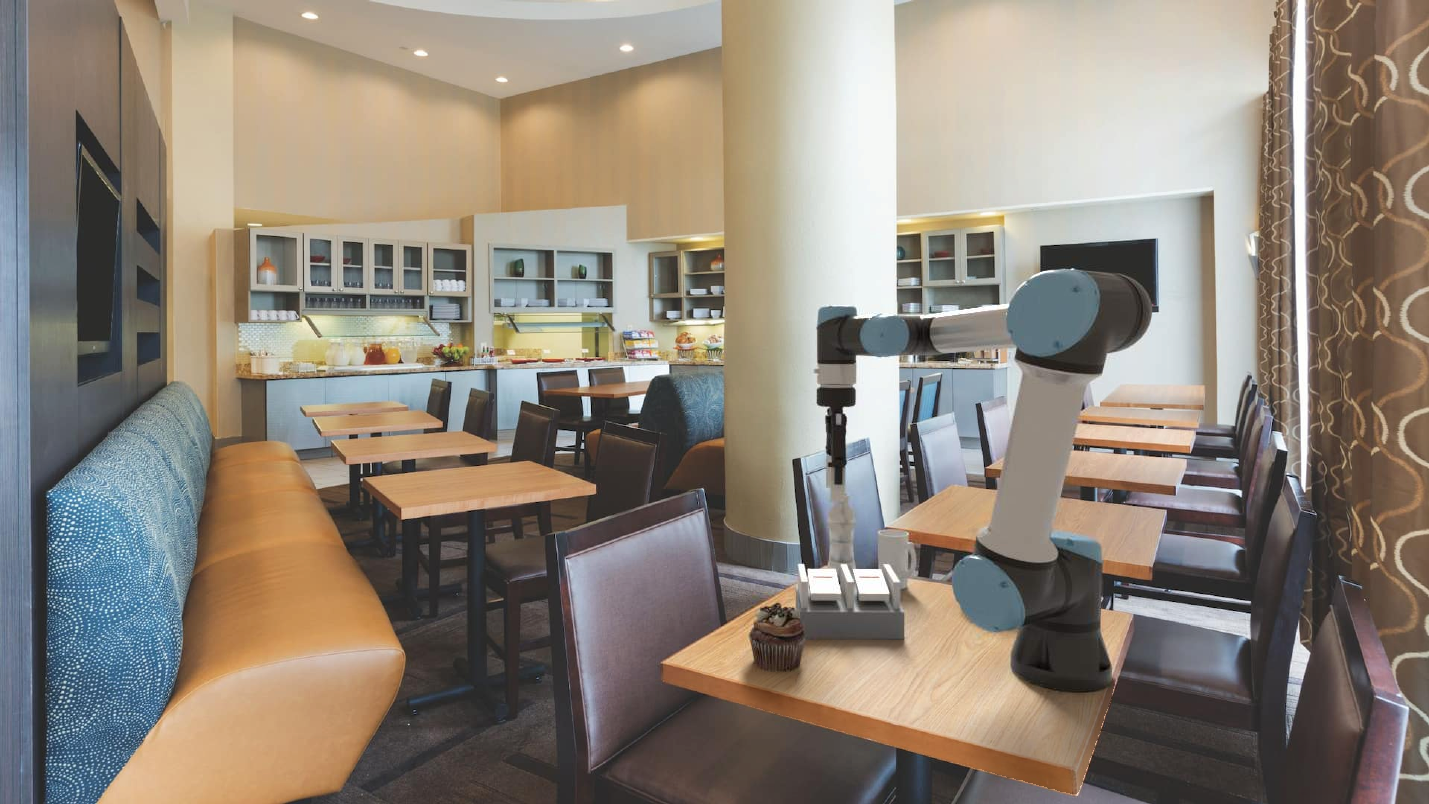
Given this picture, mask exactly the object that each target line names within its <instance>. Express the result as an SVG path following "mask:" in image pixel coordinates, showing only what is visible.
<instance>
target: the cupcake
mask: <svg viewBox="0 0 1429 804" xmlns="http://www.w3.org/2000/svg"><path fill="white" fill-rule="evenodd" d="M755 616H756V619H754V621H753V627H752V628H751V630H750V631H749V632H748V638H749V642H750V647H751V651H752V656H753V663H754V665H755V664H756V667H757V668H759V669H763V670H766V671H769V672H776V671H778V672H779V673H780V672H781V671H782V672H788V671H787V670H789V671H793V670H795V669H797V668H798V667H799V666H800V665H801V660H802V655H803V649H804V644H805V641H806V638H805V633H804V628H803V624H802V621H801V620H800V618H799V610H798V609H796V607H794V606H792V607H791V606H788V607H787V606H784V607H783V608H782V604H781V603H780V602H776V603H774V604H773V605H772V606H768V605H765V606H763V607H760V608H759V610H758V611H757V612H755ZM782 672H781V673H782Z"/></svg>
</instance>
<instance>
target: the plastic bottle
mask: <svg viewBox="0 0 1429 804" xmlns="http://www.w3.org/2000/svg"><path fill="white" fill-rule="evenodd" d="M850 501H851V499H850V494H849V493H846V492H845V502H832V503H834V504H833V505H832V507H831V508H830V509H829V511H828V512H827V516H826V517H827V518H826V519H827V525H828V532H829V552H828V553H829V556H828V563H827V568H826V569H835V570H836V574H837V579H838V582H840V564H847V567H848V569H849V571H850V574H851V576H852V578H853V569H857V567H856V561H855V553H854V533H855V526H856V514H855V513H854V511H853V509H852V507H851V506H850V505H849V504H850V503H851V502H850ZM853 579H854V578H853Z"/></svg>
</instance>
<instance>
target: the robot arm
mask: <svg viewBox="0 0 1429 804" xmlns="http://www.w3.org/2000/svg"><path fill="white" fill-rule="evenodd" d="M857 310H858V309H857V307H856V306H854V305H823V306H821V307H819V309H818V311H817V322H816V329H815V330H816V349H817V350H816V363H817V365H816V366H817V368H813V373H814V374H817V375H816V378H817V379H816V383H817V384H818V385H819V386H818V387H817V388H816V405H817V406H818V407H822V408H827V409H826V413H827V414H825V416H824V421H825V422H824V424H825V433H826V442H825V447H824V448H825V450H826V451H825V453H826V456H825V458H826V459H825V488H827V489H828V488H830V489H829V490H830V493H829V495H830V496H829V499H830V500H829V501H830V502H832V503H833V502H845V493H846V466H847V464H848V460H847V443H846V441H847V439H846V436H847V425H848V416H847V415H846V413H844V408H852V407H855V406H856V404H857V403H856V402H857V401H856V400H857V398H856V397H857V389H856V387H854V385H856V384H857V356H859V357H860V356H862V357H863V356H864V357H877V358H883V357H884V358H889V357H897V356H898V357H899V356H900V357H901V356H903V357H904V356H927V357H929V356H932V357H933V356H939V355H943V354H950V353H951V354H952V353H955V354H956V353H965V352H967V353H968V352H978V351H988V350H989V351H991V350H992V351H993V350H1005V349H1006V350H1007V349H1015V352H1014V358H1013V360H1014V361H1015V363H1016V364H1017V366H1018V367H1019V369H1020V370H1021V372H1022V373H1021V374H1022V375H1021V379H1020V384H1019V388H1018V392H1017V397H1016V402H1015V407H1014V412H1013V416H1012V421H1011V424H1010V430H1009V434H1008V439H1007V444H1006V448H1005V453H1004V456H1003V457H1004V458H1003V463H1002V466H1001V470H1000V471H1001V472H1000V476H999V480H998V485H997V490H996V495H995V500H994V505H993V508H992V512H991V513H992V514H991V517H990V522H989V523H988V524H986V525H985V526H983V527H981V528H980V529H978V531H977V532H976V536H975V541H974V547H973V551H972V553H971V554H968V555H965V557H963V558H962V559H960V560H959V561H958V562H957V563H956V564H955V566H954V568H953V571H952V574H951V575H952V576H951V585H952V592H953V595H954V598H955V600H956V602H957V604H958V605H959V608H960V610H961V611H962V613H963V614H964V616H965V617H967V619H968V620H969V621H970V622H971V623H973V624H974V625H975V626H976V627H979V628H980V629H982V630H984V631H986V632H990V633H1003V632H1008V631H1010V632H1012V631H1015V630H1018V632H1017V635H1016V637H1015V640H1014V643H1013V645H1012V648H1011V651H1010V669H1011V670H1012V672H1014V673H1015V674H1016V675H1017V676H1018V677H1020V678H1021V679H1023V680H1025V681H1028V682H1030V683H1031V684H1035V685H1037V686H1041V687H1045V688H1049V689H1053V690H1060V691H1067V692H1093V691H1099V690H1102V689H1105V688H1107V687H1108V686H1110V685H1111V683H1112V682H1113V681H1112V680H1113V665H1112V662H1111V658H1110V656H1109V652H1108V649H1107V646H1106V644H1105V641H1104V637H1103V634H1102V629H1101V627H1102V626H1101V623H1102V620H1101V619H1102V593H1103V592H1102V591H1103V589H1102V588H1103V587H1102V585H1103V566H1104V561H1103V550H1102V549H1103V548H1102V544H1101V543H1100V542H1099V541H1098V540H1097V539H1095V538H1093V537H1092V536H1091V537H1090V536H1089V535H1085V534H1079V533H1075V532H1070V531H1062V530H1055V529H1053V528H1054V524H1055V520H1056V515H1057V511H1058V507H1059V503H1060V500H1061V496H1062V491H1063V486H1064V483H1065V478H1066V474H1067V470H1068V466H1069V462H1070V461H1069V460H1070V458H1071V453H1072V449H1073V446H1074V441H1075V437H1076V432H1077V429H1078V424H1079V421H1080V416H1081V412H1082V408H1083V403H1084V400H1085V395H1086V392H1087V387H1088V385H1089V384H1090V383H1091V382H1092V381H1094V380H1096V379H1097V378H1099V377H1101V376H1102V375H1103V372H1104V367H1105V364H1106V360H1107V356H1108V354H1114V353H1118V352H1121V351H1123V350H1126V349H1129V348H1130V347H1132V346H1134V345H1135V344H1136V343H1137V342H1139V341H1140V340H1141V339H1142V338H1143V336H1144V335H1145V334H1146V333H1147V330H1148V329H1149V327H1150V324H1151V323H1152V322H1151V321H1152V317H1153V306H1152V301H1151V298H1150V295H1149V294H1148V292H1147V291H1146V289H1145V288H1144V286H1143V285H1142V284H1140V283H1139V282H1138V281H1137V280H1135V279H1134V278H1132V277H1130V276H1127V275H1125V274H1121V273H1119V272H1117V273H1116V272H1103V271H1091V270H1081V269H1075V268H1071V269H1070V268H1069V269H1068V268H1060V269H1050V270H1045V271H1041V272H1038V273H1037V274H1034V275H1031V277H1029V278H1028V279H1027V280H1026V281H1025V280H1024V282H1023V283H1022V284H1020V285H1019V287H1017V288H1016V291H1015V292H1014V294H1013V296H1011V299H1010V301H1009V303H1005V304H999V305H998V304H997V305H991V306H983V307H977V308H976V307H975V308H970V309H963V310H962V309H960V310H955V311H946V312H941V313H931V314H926V315H925V314H924V315H922V314H921V315H905V314H903V315H901V314H900V315H899V314H897V315H896V314H890V313H877V314H868V315H867V314H863V315H858V311H857Z"/></svg>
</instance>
